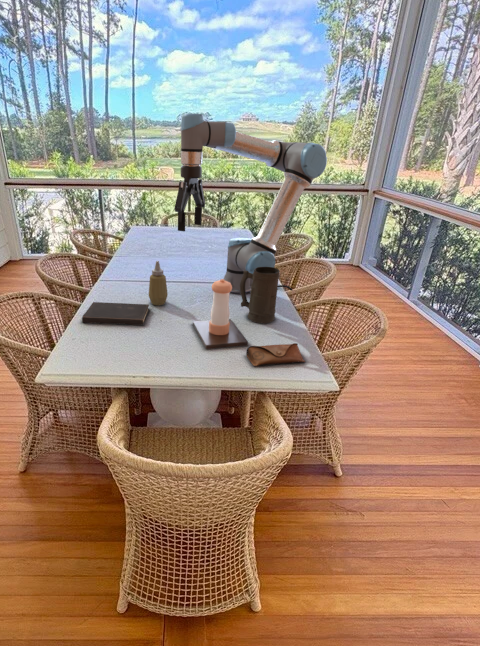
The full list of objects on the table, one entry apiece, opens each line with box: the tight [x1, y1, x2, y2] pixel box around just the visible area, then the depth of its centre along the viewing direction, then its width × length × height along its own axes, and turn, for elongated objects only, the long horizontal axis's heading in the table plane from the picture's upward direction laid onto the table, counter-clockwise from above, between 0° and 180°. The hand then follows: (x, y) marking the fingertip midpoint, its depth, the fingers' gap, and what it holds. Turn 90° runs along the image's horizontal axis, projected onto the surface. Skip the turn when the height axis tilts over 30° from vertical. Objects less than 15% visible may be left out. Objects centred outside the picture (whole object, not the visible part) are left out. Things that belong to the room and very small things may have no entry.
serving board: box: [192, 318, 249, 350], centre depth 143 cm, size 15×20×2 cm
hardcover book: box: [81, 301, 150, 326], centre depth 155 cm, size 16×23×2 cm
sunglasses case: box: [245, 342, 306, 367], centre depth 128 cm, size 18×7×7 cm, turn 102°
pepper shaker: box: [209, 278, 232, 335], centre depth 137 cm, size 7×7×19 cm
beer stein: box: [240, 267, 281, 324], centre depth 153 cm, size 15×11×20 cm
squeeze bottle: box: [148, 260, 168, 306], centre depth 163 cm, size 8×8×18 cm
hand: (189, 227), depth 150 cm, fingers open, 13 cm apart
